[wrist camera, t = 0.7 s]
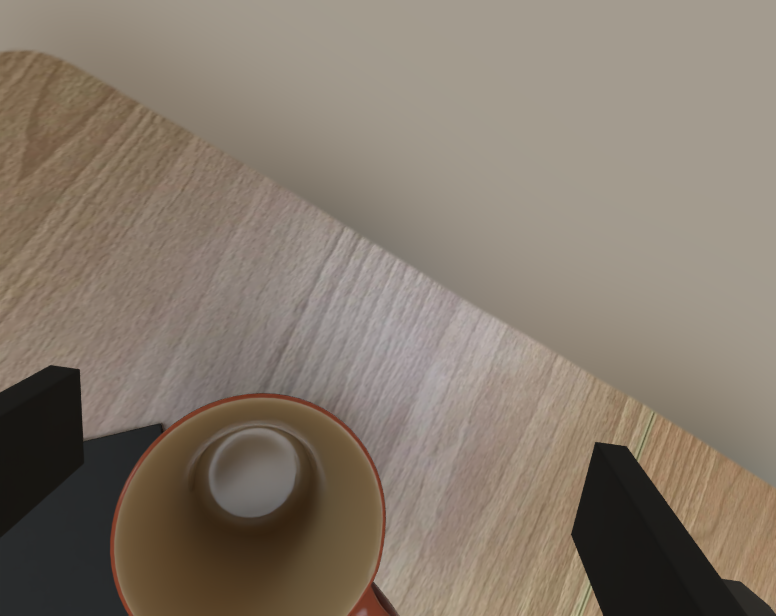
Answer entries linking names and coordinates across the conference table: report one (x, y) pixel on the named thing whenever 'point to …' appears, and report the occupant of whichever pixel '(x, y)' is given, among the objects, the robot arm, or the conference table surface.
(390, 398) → the conference table surface
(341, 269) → the conference table surface
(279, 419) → the mug
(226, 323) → the conference table surface
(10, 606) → the front mat
